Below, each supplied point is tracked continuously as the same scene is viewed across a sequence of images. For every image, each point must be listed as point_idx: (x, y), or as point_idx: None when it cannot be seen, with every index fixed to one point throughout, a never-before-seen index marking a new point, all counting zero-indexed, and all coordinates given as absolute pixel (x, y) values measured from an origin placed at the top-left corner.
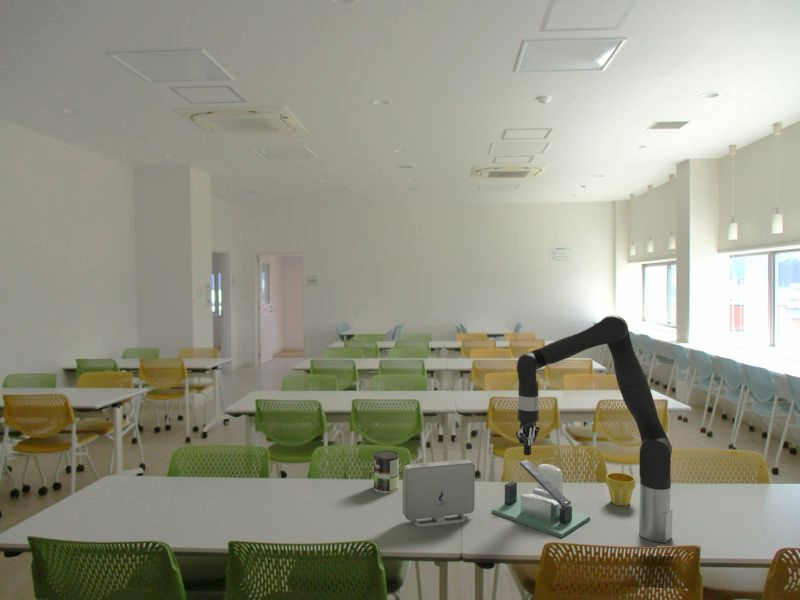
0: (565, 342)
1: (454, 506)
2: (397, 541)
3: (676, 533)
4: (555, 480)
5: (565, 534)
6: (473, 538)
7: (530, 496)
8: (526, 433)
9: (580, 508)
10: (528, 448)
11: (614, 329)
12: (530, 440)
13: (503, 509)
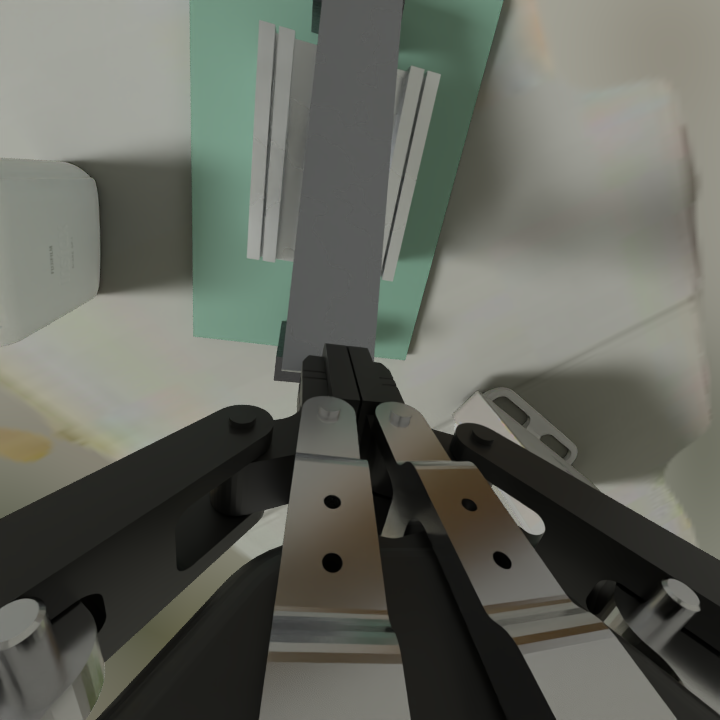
0: None
1: (529, 436)
2: (662, 440)
3: None
4: (30, 193)
5: None
6: (603, 312)
7: (387, 230)
8: (581, 607)
9: (81, 11)
10: (379, 390)
11: None
12: (355, 451)
13: (382, 328)
